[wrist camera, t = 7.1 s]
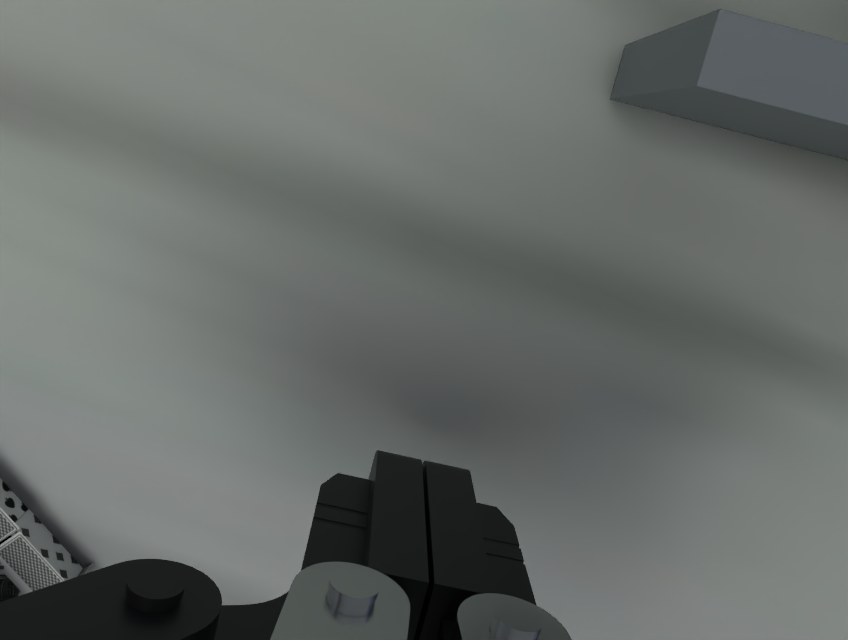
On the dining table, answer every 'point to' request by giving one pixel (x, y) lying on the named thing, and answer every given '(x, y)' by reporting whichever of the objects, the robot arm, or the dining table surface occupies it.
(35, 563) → the house of cards
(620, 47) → the dining table surface
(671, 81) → the box
